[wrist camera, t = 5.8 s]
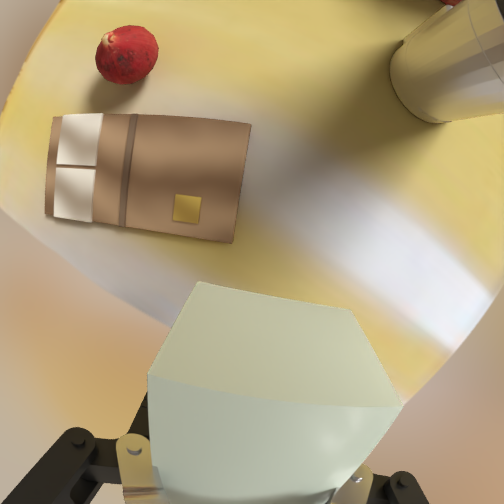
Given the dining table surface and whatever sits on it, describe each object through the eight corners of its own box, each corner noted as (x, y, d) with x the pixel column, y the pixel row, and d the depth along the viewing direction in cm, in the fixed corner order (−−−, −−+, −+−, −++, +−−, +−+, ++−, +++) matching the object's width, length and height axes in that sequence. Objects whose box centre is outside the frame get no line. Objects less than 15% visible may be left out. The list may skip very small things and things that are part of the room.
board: (58, 117, 25) (51, 115, 23) (251, 124, 25) (250, 122, 24) (49, 212, 28) (42, 214, 26) (232, 242, 28) (230, 245, 27)
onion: (175, 75, 24) (145, 46, 16) (124, 101, 24) (82, 84, 17) (160, 33, 22) (130, -2, 15) (112, 58, 23) (72, 34, 15)
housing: (197, 281, 11) (147, 373, 6) (350, 309, 11) (403, 406, 6) (180, 445, 14) (159, 521, 8) (282, 461, 14) (285, 538, 9)
